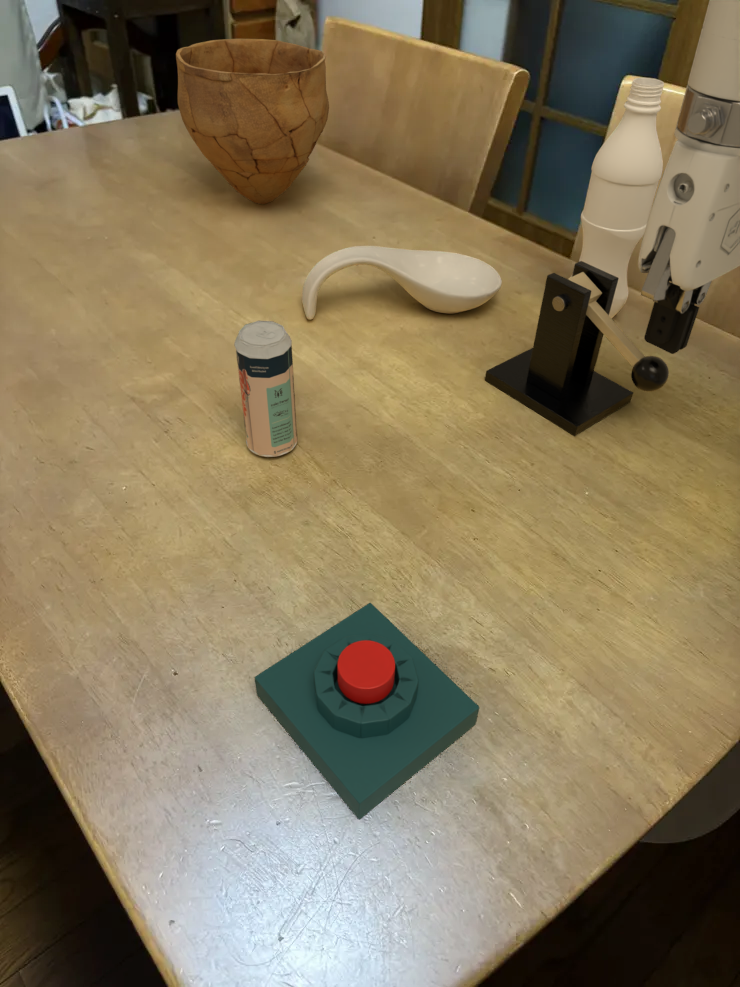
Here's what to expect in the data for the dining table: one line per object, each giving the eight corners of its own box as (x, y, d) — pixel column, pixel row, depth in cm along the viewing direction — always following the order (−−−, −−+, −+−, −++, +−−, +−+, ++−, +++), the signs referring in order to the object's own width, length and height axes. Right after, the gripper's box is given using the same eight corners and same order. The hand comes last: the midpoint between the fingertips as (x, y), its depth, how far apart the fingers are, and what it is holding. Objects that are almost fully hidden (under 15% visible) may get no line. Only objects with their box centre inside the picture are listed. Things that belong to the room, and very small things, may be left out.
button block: (476, 724, 50) (483, 691, 47) (359, 820, 45) (359, 789, 42) (369, 620, 56) (370, 585, 53) (256, 695, 51) (251, 660, 48)
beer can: (261, 424, 73) (250, 313, 65) (306, 436, 72) (300, 324, 63) (237, 453, 69) (222, 340, 61) (283, 466, 68) (275, 353, 60)
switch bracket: (630, 402, 77) (667, 287, 68) (574, 436, 72) (605, 318, 64) (540, 351, 83) (563, 240, 75) (484, 380, 79) (501, 266, 70)
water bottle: (556, 321, 88) (607, 87, 71) (565, 293, 93) (614, 68, 76) (619, 332, 87) (686, 95, 70) (624, 303, 92) (687, 76, 75)
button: (405, 682, 48) (407, 667, 47) (362, 715, 46) (362, 699, 45) (369, 646, 50) (370, 630, 49) (326, 675, 48) (325, 660, 47)
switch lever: (661, 390, 70) (682, 370, 67) (640, 403, 68) (662, 383, 66) (571, 290, 73) (588, 266, 70) (550, 300, 71) (566, 276, 69)
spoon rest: (480, 275, 96) (487, 220, 91) (512, 321, 88) (521, 264, 83) (296, 291, 92) (294, 234, 87) (312, 341, 84) (310, 281, 79)
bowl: (207, 174, 120) (190, 29, 106) (334, 178, 119) (333, 34, 106) (178, 229, 104) (153, 68, 91) (323, 234, 104) (320, 74, 91)
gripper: (726, 153, 47) (650, 394, 60) (836, 111, 55) (748, 334, 67) (627, 125, 52) (575, 355, 64) (741, 89, 59) (675, 302, 71)
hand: (664, 344), depth 65 cm, fingers closed
